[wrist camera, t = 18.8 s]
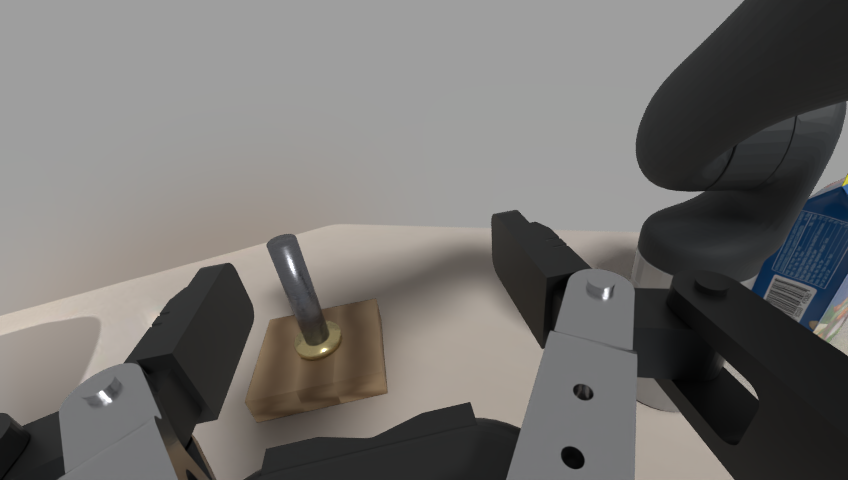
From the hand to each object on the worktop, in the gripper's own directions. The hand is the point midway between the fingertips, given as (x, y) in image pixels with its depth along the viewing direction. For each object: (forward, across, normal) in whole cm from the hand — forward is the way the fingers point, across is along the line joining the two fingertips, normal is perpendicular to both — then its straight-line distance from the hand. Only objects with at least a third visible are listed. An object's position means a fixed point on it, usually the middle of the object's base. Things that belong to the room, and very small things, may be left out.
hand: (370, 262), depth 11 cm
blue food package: (+15, -45, +32) cm, 57 cm away
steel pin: (+27, +12, +32) cm, 43 cm away
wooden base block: (+27, +12, +32) cm, 43 cm away
